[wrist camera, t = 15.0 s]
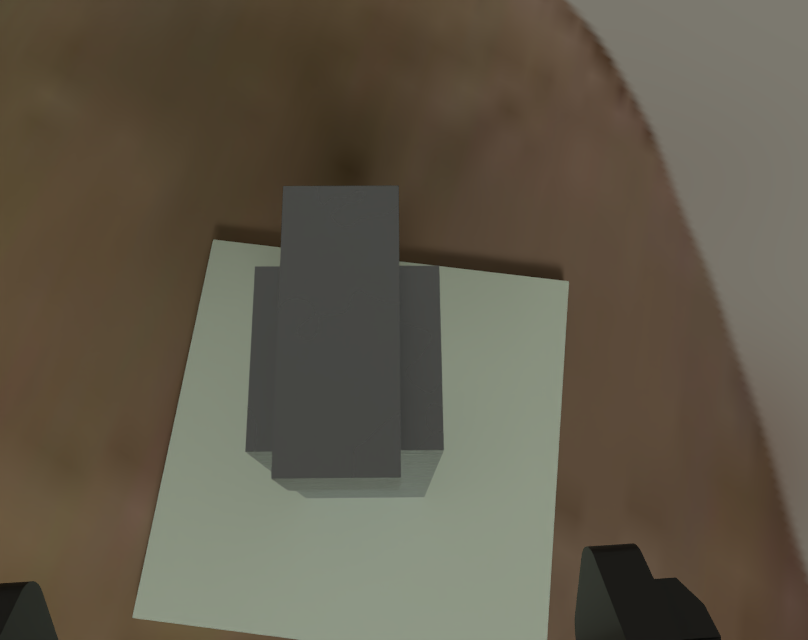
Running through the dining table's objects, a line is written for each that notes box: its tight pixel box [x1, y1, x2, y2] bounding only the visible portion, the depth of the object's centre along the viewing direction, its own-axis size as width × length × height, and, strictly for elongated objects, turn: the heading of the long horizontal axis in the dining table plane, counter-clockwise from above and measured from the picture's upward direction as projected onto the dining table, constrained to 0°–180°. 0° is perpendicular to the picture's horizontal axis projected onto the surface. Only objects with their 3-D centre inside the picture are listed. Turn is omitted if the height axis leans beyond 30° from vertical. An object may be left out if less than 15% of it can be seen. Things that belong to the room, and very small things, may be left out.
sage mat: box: [132, 240, 569, 640], centre depth 24 cm, size 12×12×1 cm
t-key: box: [245, 186, 444, 498], centre depth 18 cm, size 4×5×12 cm
